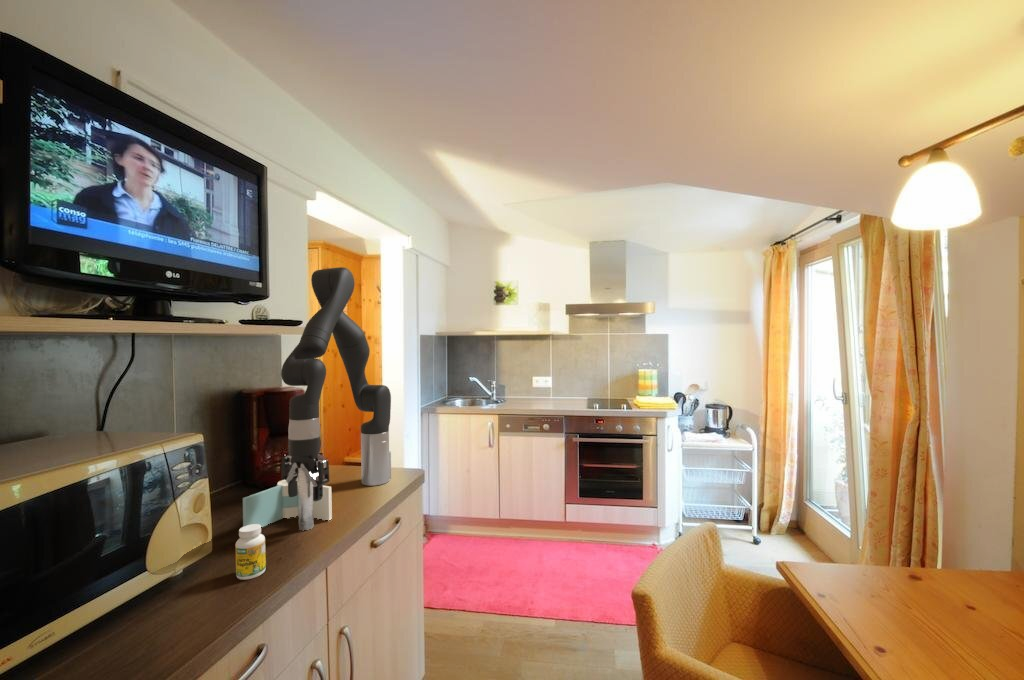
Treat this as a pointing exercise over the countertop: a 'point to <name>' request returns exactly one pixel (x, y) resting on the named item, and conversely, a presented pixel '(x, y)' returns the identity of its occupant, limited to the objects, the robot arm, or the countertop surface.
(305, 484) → the hinge pin
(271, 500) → the leaf
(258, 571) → the supplement bottle
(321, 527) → the countertop surface
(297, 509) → the white hinge leaf
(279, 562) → the countertop surface
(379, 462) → the robot arm
